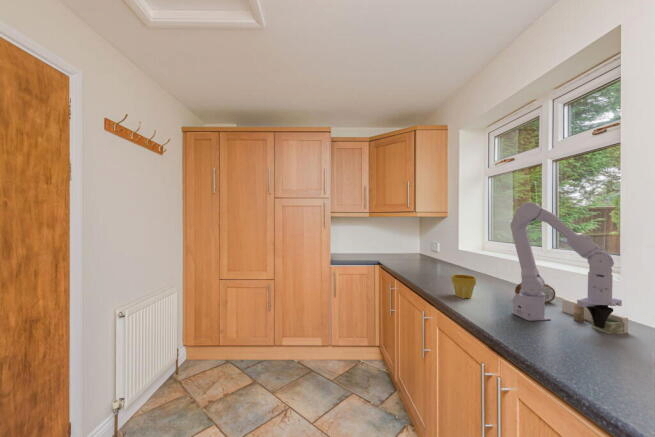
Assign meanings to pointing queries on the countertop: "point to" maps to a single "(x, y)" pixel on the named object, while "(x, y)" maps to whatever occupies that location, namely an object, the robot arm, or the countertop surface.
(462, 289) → the plant pot
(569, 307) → the backstop wall
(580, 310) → the dowel
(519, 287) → the tin
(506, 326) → the countertop surface
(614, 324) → the socket block
